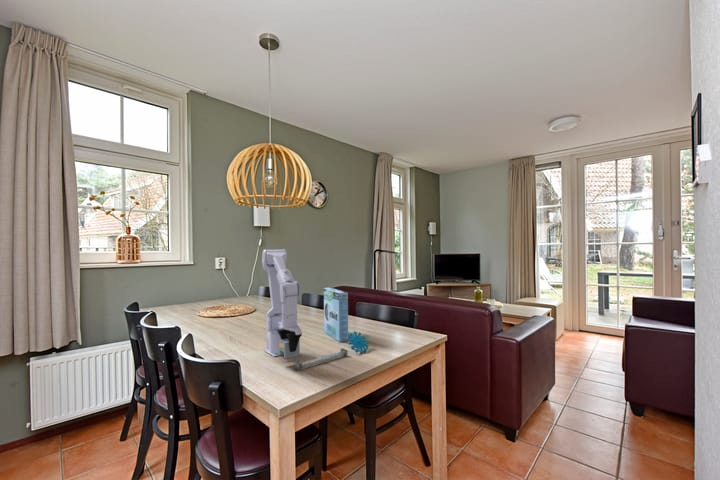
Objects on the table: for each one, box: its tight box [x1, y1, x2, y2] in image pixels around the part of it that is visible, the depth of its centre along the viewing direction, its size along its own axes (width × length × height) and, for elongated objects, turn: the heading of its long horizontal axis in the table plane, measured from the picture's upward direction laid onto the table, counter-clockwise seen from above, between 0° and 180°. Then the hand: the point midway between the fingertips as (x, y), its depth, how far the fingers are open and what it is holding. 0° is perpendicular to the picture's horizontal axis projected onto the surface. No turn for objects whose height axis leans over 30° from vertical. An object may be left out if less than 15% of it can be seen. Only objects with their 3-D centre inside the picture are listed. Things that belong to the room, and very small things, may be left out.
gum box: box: [323, 287, 349, 343], centre depth 157 cm, size 20×5×23 cm, turn 28°
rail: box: [294, 348, 348, 371], centre depth 123 cm, size 3×22×2 cm, turn 131°
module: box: [279, 338, 301, 359], centre depth 120 cm, size 5×6×6 cm
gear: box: [347, 331, 371, 354], centre depth 136 cm, size 11×6×10 cm
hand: (289, 349), depth 120 cm, fingers closed on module, 5 cm apart
